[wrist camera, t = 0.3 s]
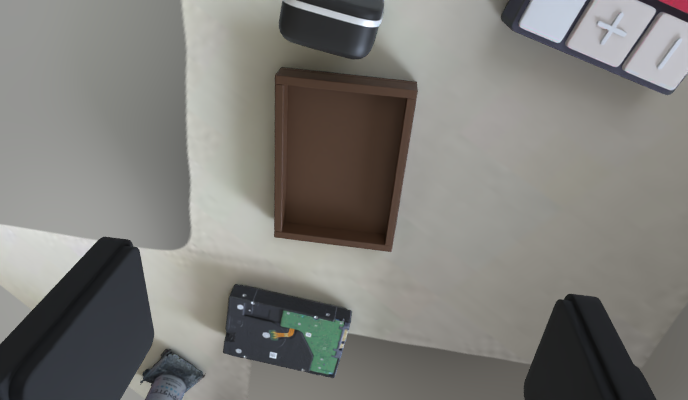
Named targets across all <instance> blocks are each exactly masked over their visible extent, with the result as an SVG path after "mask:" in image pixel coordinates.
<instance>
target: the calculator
mask: <svg viewBox="0 0 688 400" xmlns="http://www.w3.org/2000/svg"><path fill="white" fill-rule="evenodd" d="M501 19H502V21H503V22H504V23H505V24H506V25H507V26H508V27H509V28H510V29H511V30H513V31H515V32H517V33H519V34H522V35H524V36H526V37H529V38H531V39H533V40H536V41H538V42H541V43H543V44H545V45H548V46H550V47H553V48H555V49H557V50H560V51H562V52H564V53H567V54H569V55H572V56H574V57H576V58H579V59H581V60H584V61H586V62H588V63H591V64H593V65H595V66H598V67H600V68H603V69H605V70H607V71H610V72H612V73H615V74H617V75H619V76H622V77H624V78H626V79H629V80H631V81H634V82H636V83H638V84H641V85H643V86H646V87H648V88H650V89H653V90H655V91H657V92H660V93H662V94H665V95H669V94H671V93H673V92H674V91H675V89H676V88H677V87H678V85H679V84H680V83H681V82H682V80H683V79H684V78H685V76H686V75H687V74H688V0H509V2H508V4H507V6H506V7H505V9H504V11H503V13H502V16H501Z"/></svg>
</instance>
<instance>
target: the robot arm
mask: <svg viewBox="0 0 688 400" xmlns="http://www.w3.org/2000/svg"><path fill="white" fill-rule="evenodd" d="M153 338H154V329H153V323H152V318H151V312H150V306H149V301H148V295H147V290H146V284H145V278H144V273H143V267H142V262H141V256H140V251H139V249H138V248H137V247H133V244H132V242H131V241H130V240H126V239H119V238H110V237H102V238H101V239H99V240H98V241H97V242H96V243H95V244H94V245H93V246H92V247H91V248H90V250H89V251H88V252H87V253H86V254H85V255H84V256H83V257H82V258H81V259H80V260H79V261H78V262H77V263H76V264H75V265H74V267H73V268H72V269H71V270H70V271H69V272H68V273H67V274H66V275H65V276H64V277H63V278H62V279H61V280H60V281H59V282H58V284H57V285H56V286H55V287H54V288H53V289H52V290H51V291H50V292H49V293H48V294H47V295H46V296H45V297H44V298H43V299H42V301H41V302H40V303H39V304H38V305H37V306H36V307H35V308H34V309H33V310H32V311H31V312H30V313H29V314H28V315H27V316H26V318H25V319H24V320H23V321H22V322H21V323H20V324H19V325H18V326H17V327H16V328H15V330H13V331H12V332H11V334H10V335H9V336H8V337H7V338H6V339H5V340H4V341H3V342H2V343H1V344H0V400H120V399H121V397H122V396H123V394H124V392H125V390H126V389H127V387H128V385H129V384H130V382H131V380H132V378H133V377H134V375H135V373H136V372H137V370H138V368H139V366H140V365H141V363H142V361H143V360H144V358H145V356H146V354H147V353H148V351H149V349H150V347H151V345H152V342H153ZM524 397H525V400H656V398H655V396H654V394H653V392H652V390H651V388H650V387H649V385H648V383H647V381H646V379H645V377H644V375H643V374H642V372H641V371H640V369H639V368H638V367H636V366H635V365H634V364H633V362H632V360H631V359H630V357H629V355H628V353H627V351H626V349H625V347H624V345H623V343H622V341H621V339H620V337H619V335H618V333H617V332H616V330H615V328H614V326H613V324H612V322H611V320H610V318H609V316H608V314H607V312H606V310H605V308H604V306H603V305H602V303H601V301H600V300H599V298H597V297H592V296H584V295H576V294H568V295H567V296H566V297H565V299H564V300H561V299H560V300H558V301H557V302H556V304H555V306H554V308H553V311H552V313H551V316H550V318H549V321H548V324H547V326H546V329H545V331H544V334H543V336H542V339H541V341H540V344H539V346H538V349H537V351H536V354H535V356H534V359H533V362H532V364H531V367H530V369H529V372H528V374H527V377H526V379H525V383H524Z"/></svg>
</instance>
